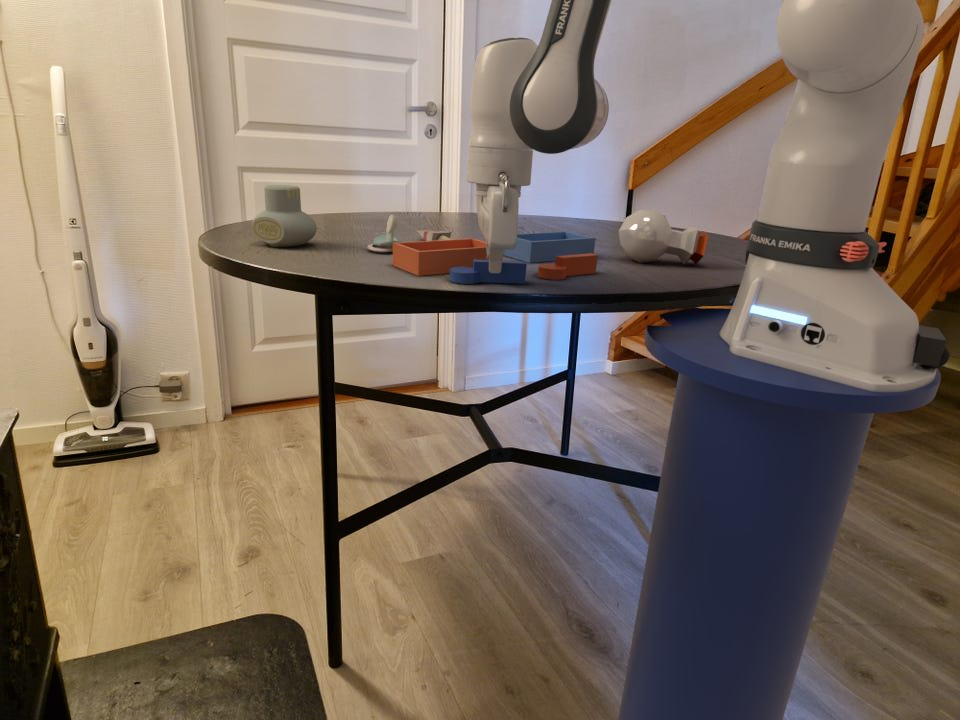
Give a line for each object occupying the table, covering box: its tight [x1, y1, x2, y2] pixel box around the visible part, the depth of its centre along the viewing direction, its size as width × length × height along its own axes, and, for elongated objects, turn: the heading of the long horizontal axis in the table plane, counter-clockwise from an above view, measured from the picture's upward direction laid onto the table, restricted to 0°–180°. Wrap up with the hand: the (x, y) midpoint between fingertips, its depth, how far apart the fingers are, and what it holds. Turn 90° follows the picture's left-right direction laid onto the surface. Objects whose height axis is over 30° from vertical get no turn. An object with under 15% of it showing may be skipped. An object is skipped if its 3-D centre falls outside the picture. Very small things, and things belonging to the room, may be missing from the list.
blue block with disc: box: [449, 260, 527, 285], centre depth 89 cm, size 11×4×3 cm, turn 94°
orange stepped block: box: [537, 253, 599, 281], centre depth 97 cm, size 11×4×3 cm, turn 125°
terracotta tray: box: [392, 238, 487, 277], centre depth 98 cm, size 8×15×4 cm, turn 125°
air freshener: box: [250, 184, 318, 248], centre depth 108 cm, size 11×8×10 cm
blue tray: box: [503, 230, 596, 264], centre depth 112 cm, size 8×15×4 cm, turn 125°
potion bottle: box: [618, 208, 709, 266], centre depth 111 cm, size 9×10×15 cm
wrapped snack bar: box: [415, 229, 452, 241], centre depth 115 cm, size 4×3×20 cm
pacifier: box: [366, 214, 403, 253], centre depth 108 cm, size 7×6×6 cm
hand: (493, 270), depth 89 cm, fingers closed on blue block with disc
